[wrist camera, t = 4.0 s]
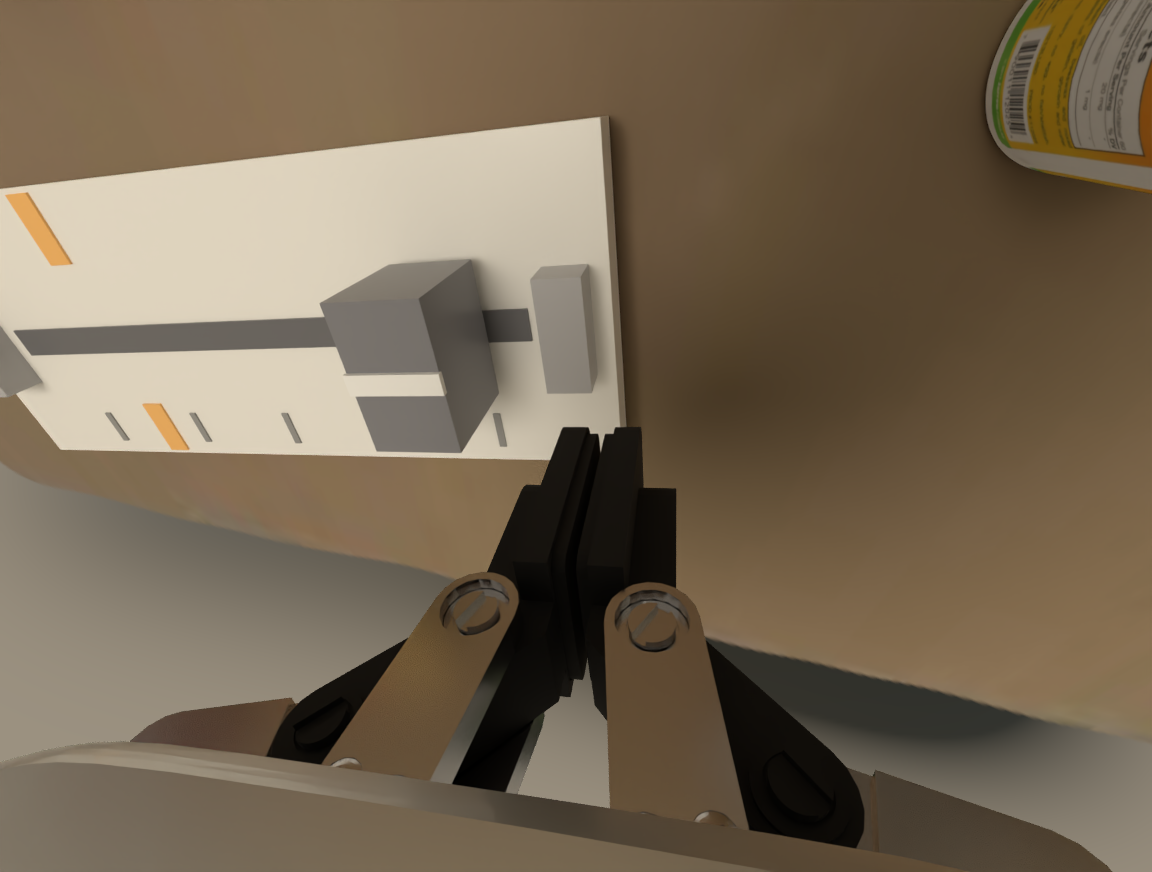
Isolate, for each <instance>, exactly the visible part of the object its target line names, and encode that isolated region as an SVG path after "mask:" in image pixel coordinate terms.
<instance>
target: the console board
mask: <svg viewBox="0 0 1152 872" xmlns="http://www.w3.org/2000/svg"><path fill="white" fill-rule="evenodd" d="M466 259H471V261H472V266H473V271H474V275H475V280H476V285H477V290H478V294H479V299H480V304H481V309H482V313H483V318H484V323H485V328H486V332H487V337H488V342H489V347H490V351H491V356H492V361H493V366H494V371H495V375H496V380H497V385H498V390H499V394H498V396H497V397H496V399H495V401H494V402H493V404H492V405H491V407H490V408H489V410H488V412H487V413H486V415H485V416H484V418H483V420H482V421H481V423H480V424H479V426H478V428H477V429H476V431H475V432H474V434H473V435H472V437H471V439H470V440H469V442H468V443H467V445H466V447H465V448H464V450H463V451H462V453H426V452H377V451H376V449H375V446H374V443H373V441H372V438H371V436H370V433H369V430H368V428H367V425H366V423H365V420H364V418H363V415H362V412H361V410H360V407H359V405H358V402H357V400H356V397H350V394H349V392H348V389H347V387H346V384H345V382H344V379H343V377H342V376H343V375H344V374H345V373H346V371H345V369H344V366H343V363H342V361H341V358H340V356H339V353H338V350H337V348H336V345H335V343H334V340H333V338H332V335H331V332H330V330H329V327H328V325H327V322H326V320H325V317H324V314H323V312H322V309H321V307H320V304H319V303H321V302H323V301H324V300H326V299H328V298H330V297H332V296H333V295H335V294H337V293H339V292H341V291H342V290H344V289H346V288H348V287H349V286H351V285H353V284H355V283H357V282H358V281H360V280H362V279H364V278H366V277H367V276H369V275H371V274H373V273H375V272H376V271H378V270H380V269H382V268H384V267H385V266H387V265H389V264H404V263H420V262H435V261H451V260H466ZM14 394H17V396H18V397H19V398H20V399H21V401H22V402H23V403H24V404H25V406H26V407H27V408H28V409H29V411H30V412H31V413H32V414H33V416H34V417H35V418H36V419H37V421H38V422H39V423H40V424H41V426H42V427H43V428H44V429H45V431H46V432H47V433H48V434H49V436H50V437H51V438H52V439H53V441H54V442H55V443H56V444H57V446H58V447H59V448H60V449H61V450H107V451H153V452H200V453H246V454H293V455H339V456H386V457H432V458H479V459H525V460H550V459H551V456H552V454H553V451H554V448H555V446H556V443H557V440H558V438H559V435H560V432H561V430H562V428H563V427H588V428H589V430H590V434H598V435H599V442H600V453H601V449H602V445H603V440H604V436H605V434H614V429H615V427H626V410H625V393H624V375H623V357H622V340H621V322H620V305H619V287H618V269H617V252H616V234H615V217H614V199H613V181H612V164H611V146H610V129H609V116H601V117H592V118H584V119H576V120H567V121H559V122H551V123H542V124H534V125H526V126H517V127H509V128H501V129H492V130H484V131H476V132H467V133H459V134H451V135H442V136H434V137H426V138H417V139H409V140H401V141H392V142H384V143H376V144H367V145H359V146H351V147H342V148H334V149H326V150H317V151H309V152H301V153H292V154H284V155H276V156H267V157H259V158H251V159H242V160H234V161H226V162H217V163H209V164H201V165H192V166H184V167H176V168H167V169H159V170H151V171H142V172H134V173H126V174H117V175H109V176H101V177H92V178H84V179H76V180H67V181H59V182H51V183H42V184H34V185H26V186H17V187H9V188H1V189H0V397H10V396H12V395H14Z"/></svg>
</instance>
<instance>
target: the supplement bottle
mask: <svg viewBox="0 0 1152 872" xmlns="http://www.w3.org/2000/svg"><path fill="white" fill-rule="evenodd" d="M986 116H987V122H988V126H989V129H990V132H991V134H992V136H993V138H994V140H995V142H996V143H997V145H998V147H999V148H1000V149H1001V150H1002V151H1003V152H1004V153H1005V154H1006V155H1007V156H1008V157H1009V158H1011V159H1012V160H1013V161H1015V162H1017V163H1018V164H1020V165H1022V166H1024V167H1027V168H1030V169H1033V170H1036V171H1039V172H1043V173H1048V174H1053V175H1058V176H1063V177H1069V178H1074V179H1079V180H1084V181H1089V182H1094V183H1099V184H1104V185H1109V186H1114V187H1119V188H1124V189H1129V190H1134V191H1139V192H1144V193H1149V194H1152V0H1027V1H1026V3H1025V4H1024V5H1023V7H1022V8H1021V10H1020V11H1019V12H1018V14H1017V15H1016V17H1015V18H1014V20H1013V22H1012V23H1011V25H1010V26H1009V28H1008V30H1007V32H1006V34H1005V36H1004V38H1003V40H1002V42H1001V44H1000V46H999V48H998V51H997V53H996V56H995V58H994V61H993V64H992V67H991V70H990V74H989V78H988V83H987V89H986Z"/></svg>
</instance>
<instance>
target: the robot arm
mask: <svg viewBox="0 0 1152 872" xmlns="http://www.w3.org/2000/svg"><path fill="white" fill-rule="evenodd" d="M587 657H588V664H589V671H590V678H591V681H592V688H593V695H594V703H595V706H596V707H597V709H598V710H599V711H600V712H601V714H602V715H603V716H604V718H605V719H606V720H607V727H608V759H609V791H610V808H604V807H597V806H590V805H584V804H578V803H571V802H565V801H558V800H552V799H545V798H539V797H532V796H525V795H518V791H519V788H520V786H521V783H522V780H523V778H524V775H525V772H526V770H527V767H528V764H529V762H530V759H531V756H532V753H533V751H534V748H535V746H536V743H537V740H538V737H539V735H540V732H541V729H542V726H543V721H544V717H545V714H544V712H545V711H546V710H547V709H549V708H550V707H551V706H553V705H554V704H556V703H557V702H558V701H559V698H560V696H564V697H571V692H572V686H573V681H574V679H579V680H583V677H584V674H585V668H586V663H587ZM0 872H1112V871H1111V870H1110V869H1109V867H1108V866H1107V865H1105V864H1104V863H1103V862H1102V861H1100V860H1099V859H1097V858H1096V857H1095V856H1094V855H1093V854H1091V853H1090V852H1089V851H1087V850H1086V849H1085V848H1084V847H1082V846H1081V845H1080V844H1078V843H1076V842H1074V841H1072V840H1070V839H1068V838H1066V837H1064V836H1062V835H1060V834H1058V833H1056V832H1054V831H1052V830H1049V829H1046V828H1043V827H1040V826H1037V825H1034V824H1031V823H1028V822H1026V821H1022V820H1019V819H1017V818H1014V817H1011V816H1008V815H1005V814H1002V813H999V812H996V811H994V810H991V809H988V808H985V807H982V806H979V805H976V804H973V803H970V802H967V801H964V800H961V799H959V798H955V797H953V796H950V795H947V794H944V793H941V792H938V791H935V790H932V789H929V788H926V787H924V786H921V785H918V784H915V783H912V782H909V781H906V780H903V779H900V778H897V777H894V776H891V775H888V774H885V773H883V772H880V771H877V770H875V771H874V774H873V776H869V775H867V774H864V773H861V772H858V771H855V770H852V769H849V768H846V766H845V765H844V764H843V763H842V762H841V761H840V760H839V759H838V758H837V757H836V756H835V754H834V753H833V752H832V751H831V750H830V749H828V748H827V747H826V746H825V745H824V744H823V743H822V742H820V741H819V740H818V739H817V738H816V737H815V736H814V735H812V734H811V733H810V732H809V731H808V730H807V729H806V728H805V727H803V726H802V725H801V724H800V723H799V722H798V721H797V720H795V719H794V718H793V717H792V716H791V715H790V714H789V713H788V712H786V711H785V710H784V709H783V708H782V707H781V706H780V705H778V704H777V703H776V702H775V701H774V700H773V699H772V698H770V697H769V696H768V695H767V694H766V693H765V692H763V690H761V689H760V688H759V687H758V686H757V685H756V684H755V683H753V682H752V681H751V680H750V679H749V678H748V677H747V676H746V675H744V674H743V673H742V672H741V671H740V670H739V669H737V668H736V667H735V666H734V665H733V664H732V663H731V662H730V661H729V660H727V659H726V658H725V657H724V656H723V655H722V654H721V653H719V652H718V651H717V650H716V649H715V648H714V647H712V645H710V644H709V643H708V642H707V641H706V640H705V636H704V632H703V627H702V623H701V619H700V615H699V613H698V611H697V608H696V606H695V604H694V603H693V602H692V601H691V600H690V599H689V598H688V596H687V595H686V594H684V593H682V592H681V591H679V590H678V589H676V489H671V488H643V459H642V432H641V427H615V429H614V434H605V436H604V440H603V445H602V449H601V453H600V442H599V435H598V434H590V430H589V428H588V427H563V428H562V430H561V432H560V435H559V438H558V440H557V443H556V446H555V448H554V451H553V454H552V456H551V459H550V462H549V464H548V467H547V470H546V472H545V475H544V478H543V480H542V483H541V485H526V486H524V487H523V489H522V491H521V493H520V495H519V498H518V500H517V502H516V505H515V507H514V510H513V512H512V514H511V517H510V519H509V521H508V524H507V526H506V528H505V531H504V533H503V536H502V538H501V540H500V543H499V545H498V547H497V550H496V552H495V555H494V557H493V559H492V562H491V564H490V566H489V569H488V571H487V572H480V573H474V574H469V575H467V576H464V577H462V578H459V579H457V580H455V581H454V582H452V583H451V584H450V585H448V586H447V587H445V588H444V590H443V591H442V592H441V593H440V594H439V595H438V596H437V597H436V599H435V600H434V602H433V603H432V605H431V606H430V607H429V609H428V610H427V612H426V613H425V615H424V616H423V618H422V619H421V620H420V622H419V623H418V625H417V626H416V628H415V629H414V631H413V632H412V634H411V635H410V637H409V638H407V639H405V640H403V641H402V642H400V643H398V644H396V645H395V646H393V647H391V648H389V649H388V650H386V651H384V652H382V653H381V654H379V655H377V656H375V657H374V658H372V659H370V660H368V661H366V662H365V663H363V664H361V665H359V666H358V667H356V668H354V669H352V670H351V671H349V672H347V673H345V674H344V675H342V676H340V677H339V678H337V679H335V680H333V681H331V682H330V683H328V684H326V685H324V686H323V687H321V688H319V689H317V690H316V691H314V692H313V693H311V694H310V695H309V696H307V697H306V698H304V699H303V700H302V701H300V702H299V703H297V704H295V703H294V701H293V700H292V698H284V699H277V700H269V701H262V702H254V703H245V704H238V705H230V706H222V707H214V708H206V709H198V710H190V711H183V712H179V713H175V714H172V715H169V716H165V717H164V718H162V719H160V720H158V721H156V722H155V723H153V724H151V725H149V726H148V727H146V728H145V729H144V730H143V731H142V732H141V733H139V734H138V735H137V736H135V737H134V738H133V739H132V740H131V741H130V742H124V741H123V742H122V741H121V742H97V743H86V744H78V745H71V746H65V747H59V748H54V749H48V750H43V751H39V752H35V753H32V754H28V755H25V756H21V757H17V758H14V759H10V760H6V761H2V762H0Z"/></svg>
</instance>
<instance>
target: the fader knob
mask: <svg viewBox="0 0 1152 872" xmlns="http://www.w3.org/2000/svg"><path fill="white" fill-rule="evenodd" d="M319 304H320V307H321V309H322V312H323V314H324V317H325V320H326V322H327V325H328V327H329V330H330V332H331V335H332V338H333V340H334V343H335V345H336V348H337V350H338V353H339V356H340V358H341V361H342V363H343V366H344V369H345V371H346V373H345V374H344V375H343V376H342V377H343V379H344V382H345V384H346V387H347V389H348V392H349V394H350V397H356V400H357V402H358V405H359V407H360V410H361V412H362V415H363V418H364V420H365V423H366V425H367V428H368V430H369V433H370V436H371V438H372V441H373V443H374V446H375V449H376V451H377V452H426V453H462V451H463V450H464V448H465V447H466V445H467V443H468V442H469V440H470V439H471V437H472V435H473V434H474V432H475V431H476V429H477V428H478V426H479V424H480V423H481V421H482V420H483V418H484V416H485V415H486V413H487V412H488V410H489V408H490V407H491V405H492V404H493V402H494V401H495V399H496V397H497V396H498V394H499V390H498V385H497V380H496V375H495V371H494V366H493V361H492V356H491V351H490V347H489V342H488V337H487V332H486V328H485V323H484V318H483V313H482V309H481V304H480V299H479V294H478V290H477V285H476V280H475V275H474V271H473V266H472V261H471V259H466V260H451V261H435V262H420V263H404V264H389V265H387V266H385V267H384V268H382V269H380V270H378V271H376V272H375V273H373V274H371V275H369V276H367V277H366V278H364V279H362V280H360V281H358V282H357V283H355V284H353V285H351V286H349V287H348V288H346V289H344V290H342V291H341V292H339V293H337V294H335V295H333V296H332V297H330V298H328V299H326V300H324V301H323V302H321V303H319Z"/></svg>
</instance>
